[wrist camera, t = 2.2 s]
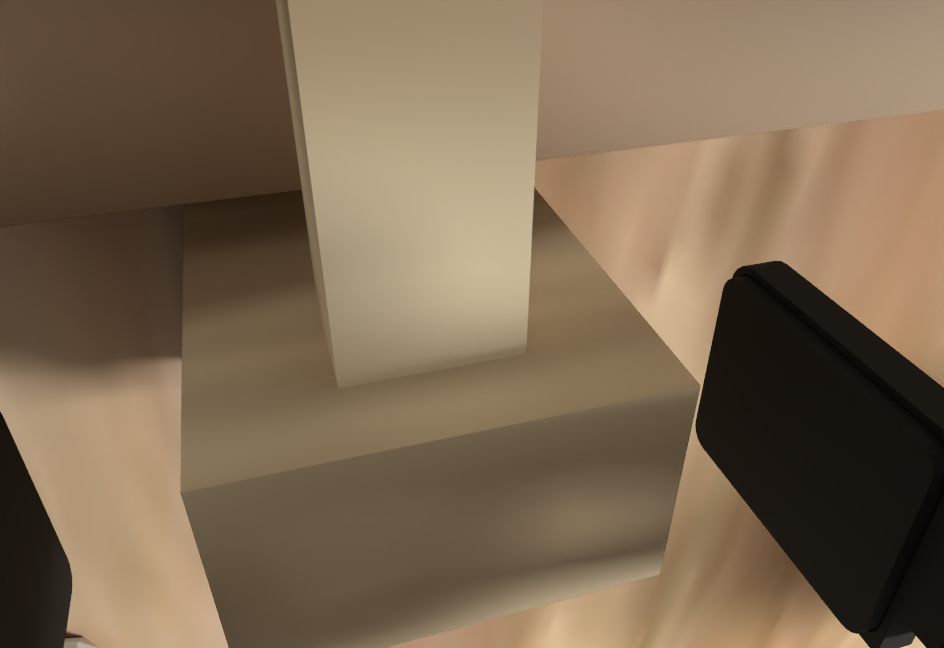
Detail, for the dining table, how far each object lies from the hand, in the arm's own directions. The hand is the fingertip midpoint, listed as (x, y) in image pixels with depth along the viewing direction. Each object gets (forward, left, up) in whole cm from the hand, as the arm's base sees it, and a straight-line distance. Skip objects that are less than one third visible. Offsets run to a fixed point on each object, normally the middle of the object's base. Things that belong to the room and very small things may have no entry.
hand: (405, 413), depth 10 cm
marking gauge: (-4, 0, -3) cm, 6 cm away
